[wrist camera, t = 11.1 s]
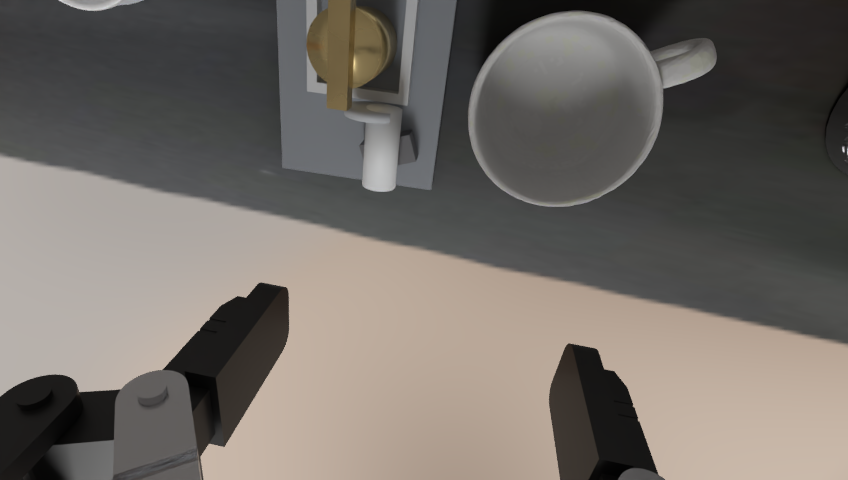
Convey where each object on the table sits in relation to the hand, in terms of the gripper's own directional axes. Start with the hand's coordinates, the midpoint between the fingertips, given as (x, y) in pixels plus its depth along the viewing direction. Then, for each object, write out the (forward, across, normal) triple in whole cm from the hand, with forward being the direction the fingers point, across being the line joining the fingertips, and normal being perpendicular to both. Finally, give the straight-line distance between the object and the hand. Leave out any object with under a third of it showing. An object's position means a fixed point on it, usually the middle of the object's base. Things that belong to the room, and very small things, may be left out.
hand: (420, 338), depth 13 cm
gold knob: (+23, +8, -5) cm, 24 cm away
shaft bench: (+24, +8, -5) cm, 26 cm away
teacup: (+24, -7, -4) cm, 26 cm away
